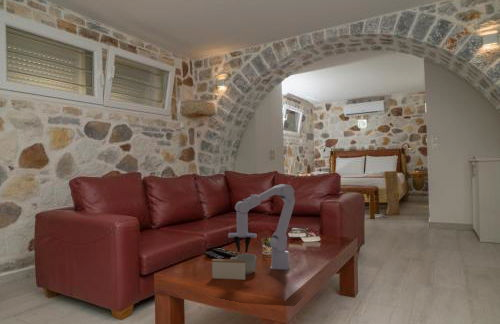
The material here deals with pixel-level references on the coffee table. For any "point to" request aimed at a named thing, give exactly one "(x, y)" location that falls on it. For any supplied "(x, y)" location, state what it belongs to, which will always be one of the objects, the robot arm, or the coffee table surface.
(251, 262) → the teacup
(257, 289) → the coffee table surface
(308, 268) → the coffee table surface
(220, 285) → the coffee table surface
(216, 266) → the cream slab
